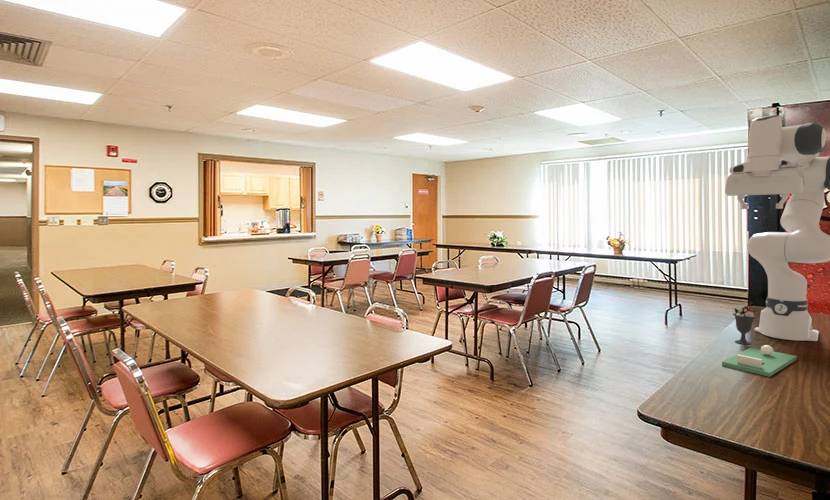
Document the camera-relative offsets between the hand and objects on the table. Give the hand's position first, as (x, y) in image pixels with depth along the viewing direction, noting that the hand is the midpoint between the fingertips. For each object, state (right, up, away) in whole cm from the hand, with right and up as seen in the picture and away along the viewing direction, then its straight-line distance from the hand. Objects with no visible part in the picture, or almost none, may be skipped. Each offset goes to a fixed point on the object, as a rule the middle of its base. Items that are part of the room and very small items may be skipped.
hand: (761, 208), depth 146 cm
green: (-6, -49, -6) cm, 50 cm away
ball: (-1, -46, -3) cm, 46 cm away
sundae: (+4, -47, +14) cm, 49 cm away
